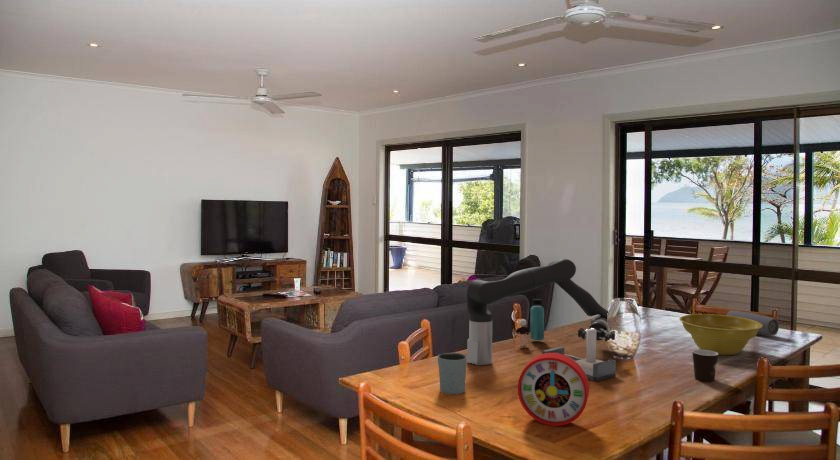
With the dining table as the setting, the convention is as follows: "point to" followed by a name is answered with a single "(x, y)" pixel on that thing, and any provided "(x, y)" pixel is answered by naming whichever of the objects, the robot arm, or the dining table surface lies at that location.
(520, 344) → the grandmother figurine
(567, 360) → the toy clock
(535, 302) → the beverage bottle
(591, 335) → the carriage
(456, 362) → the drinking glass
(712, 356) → the coffee mug
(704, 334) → the planter bowl
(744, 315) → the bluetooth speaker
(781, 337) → the dining table surface
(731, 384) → the dining table surface
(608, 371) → the gray tray
